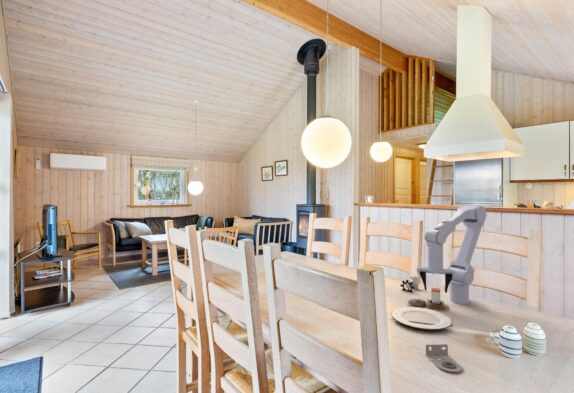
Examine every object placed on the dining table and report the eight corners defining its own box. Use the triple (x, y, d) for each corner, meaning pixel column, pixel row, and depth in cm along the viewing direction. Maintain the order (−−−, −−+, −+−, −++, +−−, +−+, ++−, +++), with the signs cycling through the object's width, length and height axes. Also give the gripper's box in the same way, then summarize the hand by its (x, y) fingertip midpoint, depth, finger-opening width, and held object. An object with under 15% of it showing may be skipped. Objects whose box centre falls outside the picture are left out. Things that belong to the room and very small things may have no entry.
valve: (409, 286, 162) (400, 292, 154) (409, 274, 162) (400, 278, 154) (422, 289, 158) (413, 294, 149) (422, 276, 158) (413, 281, 149)
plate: (456, 337, 104) (456, 332, 104) (391, 328, 112) (391, 323, 112) (447, 315, 124) (447, 310, 124) (392, 309, 131) (392, 304, 131)
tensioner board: (407, 302, 138) (407, 295, 138) (448, 307, 132) (448, 300, 132) (407, 308, 131) (407, 301, 131) (450, 313, 125) (450, 306, 125)
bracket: (443, 375, 83) (443, 362, 83) (425, 356, 93) (425, 344, 93) (467, 374, 83) (467, 361, 83) (447, 355, 93) (447, 344, 93)
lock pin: (431, 304, 132) (431, 287, 132) (439, 305, 131) (439, 288, 131) (431, 307, 129) (431, 289, 129) (440, 308, 128) (440, 290, 128)
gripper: (416, 258, 129) (416, 291, 129) (456, 261, 124) (456, 295, 124) (416, 255, 136) (416, 286, 136) (454, 258, 130) (454, 290, 130)
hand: (435, 290), depth 130 cm, fingers open, 7 cm apart
